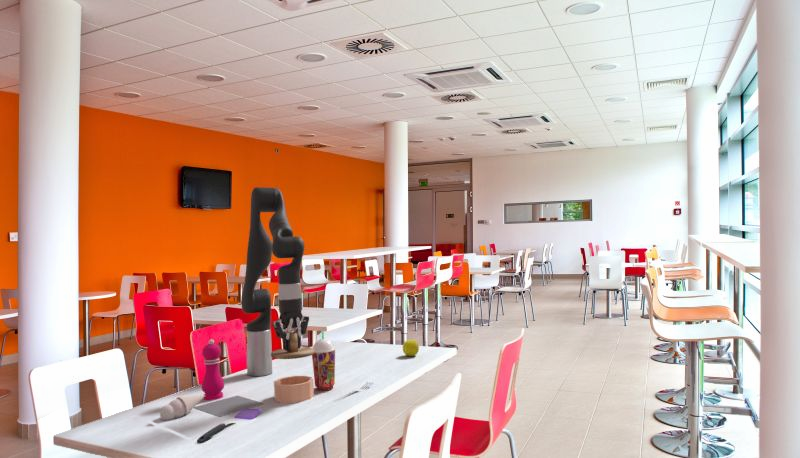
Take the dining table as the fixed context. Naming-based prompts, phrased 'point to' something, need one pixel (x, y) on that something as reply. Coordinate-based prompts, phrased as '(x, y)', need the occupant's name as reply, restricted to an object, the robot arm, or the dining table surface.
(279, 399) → the bowl
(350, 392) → the fork
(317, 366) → the smoothie
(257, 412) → the spatula
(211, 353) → the pepper mill
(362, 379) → the dining table surface
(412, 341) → the tennis ball
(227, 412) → the mat
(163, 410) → the ice cream cone
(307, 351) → the lid
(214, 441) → the dining table surface
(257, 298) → the robot arm
